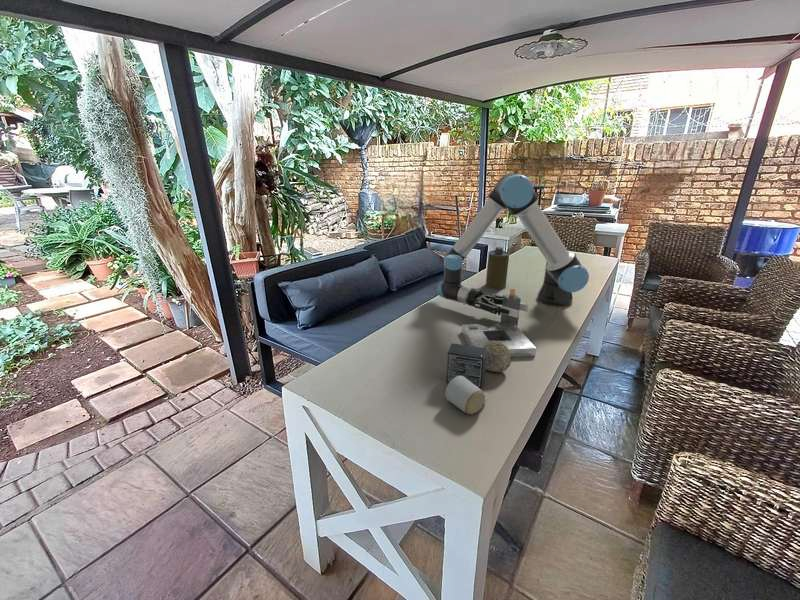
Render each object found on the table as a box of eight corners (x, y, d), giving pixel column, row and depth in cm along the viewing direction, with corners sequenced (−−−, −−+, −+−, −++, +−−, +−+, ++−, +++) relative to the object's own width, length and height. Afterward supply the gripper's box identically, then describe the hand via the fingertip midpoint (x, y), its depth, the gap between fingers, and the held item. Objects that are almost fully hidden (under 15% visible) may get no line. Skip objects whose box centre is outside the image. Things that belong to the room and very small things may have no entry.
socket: (512, 329, 141) (513, 321, 140) (535, 355, 123) (536, 346, 121) (461, 331, 140) (462, 323, 138) (476, 358, 121) (477, 349, 120)
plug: (512, 322, 148) (516, 287, 142) (517, 327, 143) (521, 291, 138) (500, 322, 147) (504, 287, 142) (504, 328, 143) (508, 292, 137)
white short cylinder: (465, 420, 93) (468, 395, 90) (443, 404, 99) (445, 379, 96) (493, 405, 99) (496, 381, 96) (471, 391, 105) (473, 367, 102)
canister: (508, 289, 184) (512, 250, 177) (487, 289, 185) (491, 250, 177) (503, 282, 195) (507, 245, 187) (483, 282, 195) (486, 245, 188)
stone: (483, 360, 120) (485, 333, 116) (511, 371, 114) (515, 342, 111) (473, 368, 115) (476, 340, 112) (502, 379, 110) (506, 350, 106)
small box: (484, 378, 111) (487, 347, 107) (482, 390, 105) (485, 358, 101) (450, 371, 114) (451, 341, 110) (445, 383, 108) (447, 351, 104)
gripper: (482, 298, 162) (532, 312, 147) (456, 311, 148) (509, 328, 134) (483, 282, 159) (535, 295, 145) (457, 294, 145) (511, 309, 131)
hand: (522, 311), depth 139 cm, fingers closed on plug, 7 cm apart
